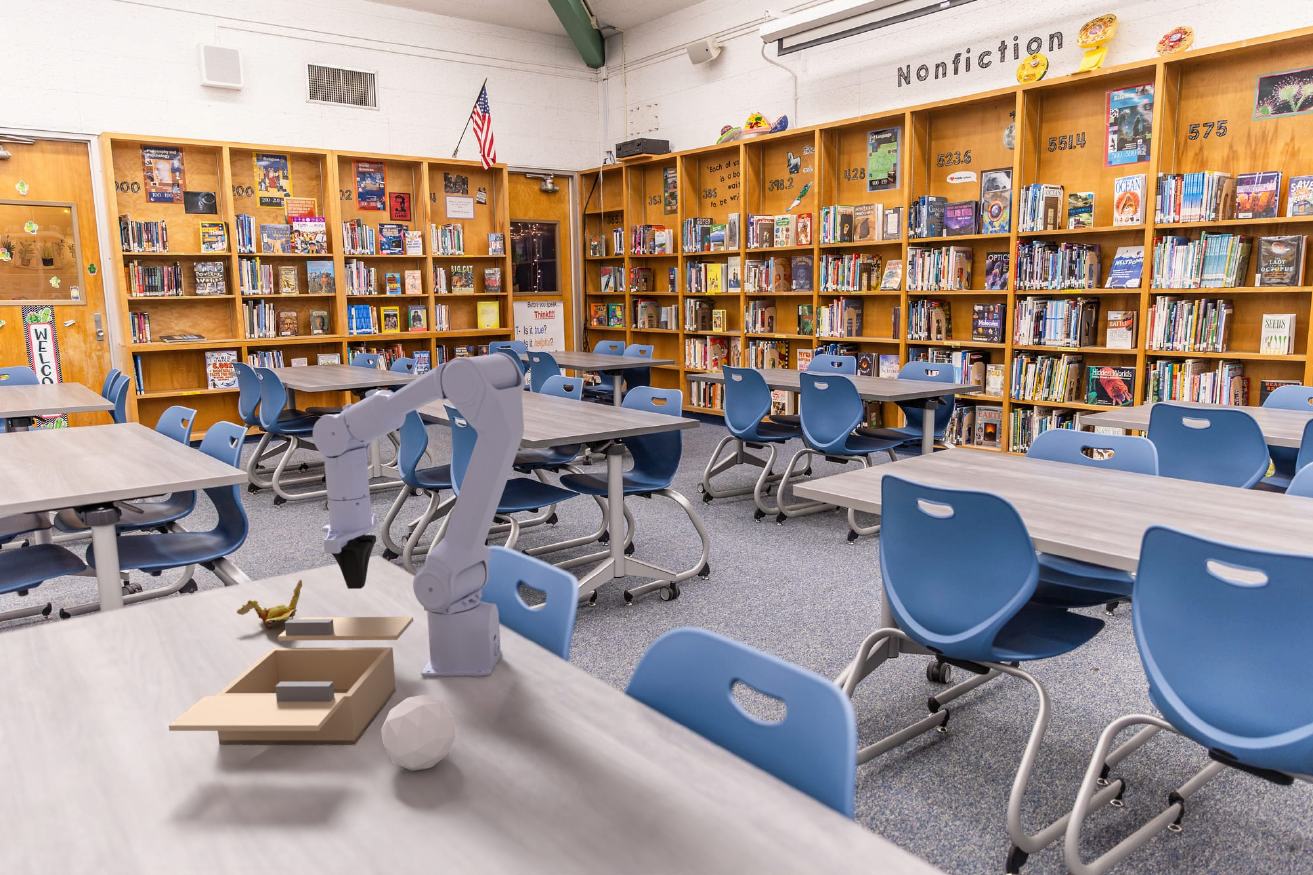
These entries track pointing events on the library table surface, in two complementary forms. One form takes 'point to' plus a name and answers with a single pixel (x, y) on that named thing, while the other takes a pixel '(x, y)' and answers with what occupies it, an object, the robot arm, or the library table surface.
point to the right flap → (345, 628)
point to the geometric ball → (418, 732)
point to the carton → (351, 670)
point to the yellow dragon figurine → (274, 609)
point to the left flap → (264, 710)
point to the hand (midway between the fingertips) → (356, 587)
